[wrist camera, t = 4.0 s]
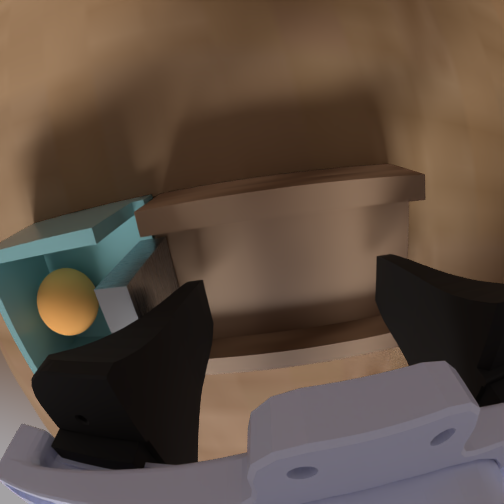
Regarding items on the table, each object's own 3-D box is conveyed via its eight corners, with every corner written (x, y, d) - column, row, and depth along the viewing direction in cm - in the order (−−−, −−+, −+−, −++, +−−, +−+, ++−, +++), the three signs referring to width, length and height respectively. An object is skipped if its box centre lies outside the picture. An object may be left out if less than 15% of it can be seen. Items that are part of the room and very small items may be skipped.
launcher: (389, 163, 13) (424, 174, 10) (387, 306, 16) (411, 343, 13) (160, 193, 14) (133, 212, 11) (196, 333, 17) (185, 375, 14)
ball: (90, 267, 13) (25, 295, 11) (115, 330, 14) (56, 357, 12) (81, 252, 15) (27, 274, 13) (100, 306, 16) (51, 328, 15)
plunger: (165, 236, 12) (126, 286, 8) (192, 334, 14) (174, 403, 10) (140, 240, 12) (94, 289, 8) (169, 336, 14) (146, 402, 10)
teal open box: (151, 194, 14) (105, 224, 9) (189, 334, 17) (170, 398, 12) (33, 223, 14) (-23, 255, 10) (77, 339, 17) (43, 388, 13)
